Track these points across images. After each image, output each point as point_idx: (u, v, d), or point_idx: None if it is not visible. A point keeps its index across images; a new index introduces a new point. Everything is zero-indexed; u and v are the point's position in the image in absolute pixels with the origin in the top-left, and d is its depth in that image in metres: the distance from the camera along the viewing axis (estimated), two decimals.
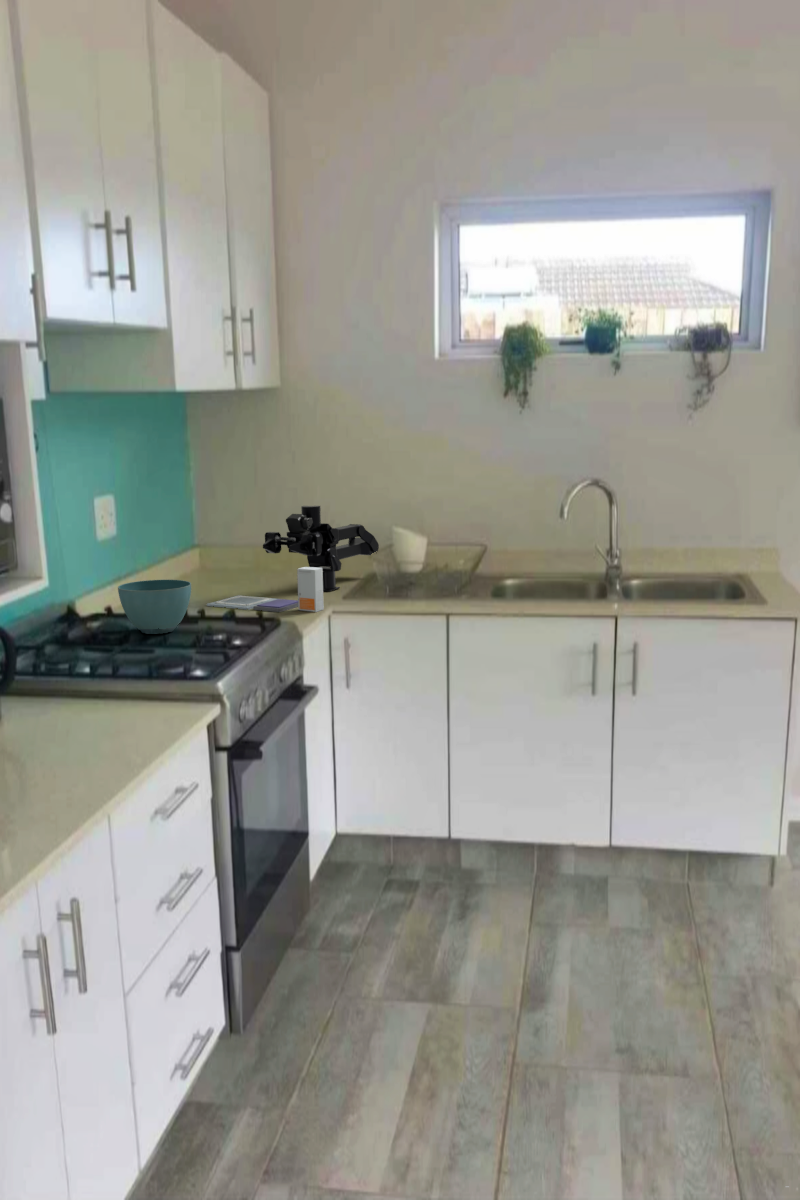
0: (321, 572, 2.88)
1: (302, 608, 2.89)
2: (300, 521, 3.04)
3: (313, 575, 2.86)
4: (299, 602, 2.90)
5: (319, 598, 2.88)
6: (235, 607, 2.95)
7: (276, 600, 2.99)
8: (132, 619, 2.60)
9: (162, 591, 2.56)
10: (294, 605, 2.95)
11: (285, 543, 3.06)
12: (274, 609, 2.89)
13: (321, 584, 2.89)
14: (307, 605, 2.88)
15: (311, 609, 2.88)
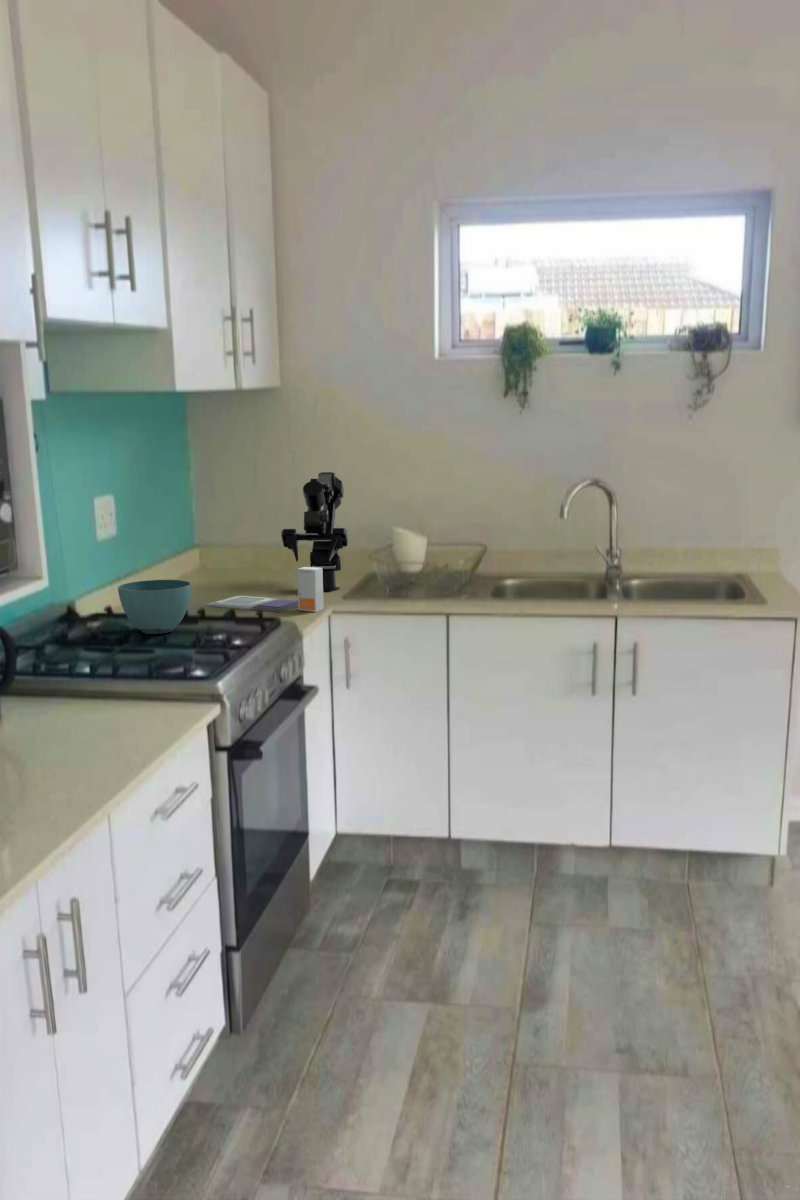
0: (321, 572, 2.88)
1: (302, 608, 2.89)
2: (320, 520, 2.95)
3: (313, 575, 2.86)
4: (299, 602, 2.90)
5: (319, 598, 2.88)
6: (235, 607, 2.95)
7: (276, 600, 2.99)
8: (132, 619, 2.60)
9: (162, 591, 2.56)
10: (294, 605, 2.95)
11: (307, 539, 3.00)
12: (274, 609, 2.89)
13: (321, 584, 2.89)
14: (307, 605, 2.88)
15: (311, 609, 2.88)
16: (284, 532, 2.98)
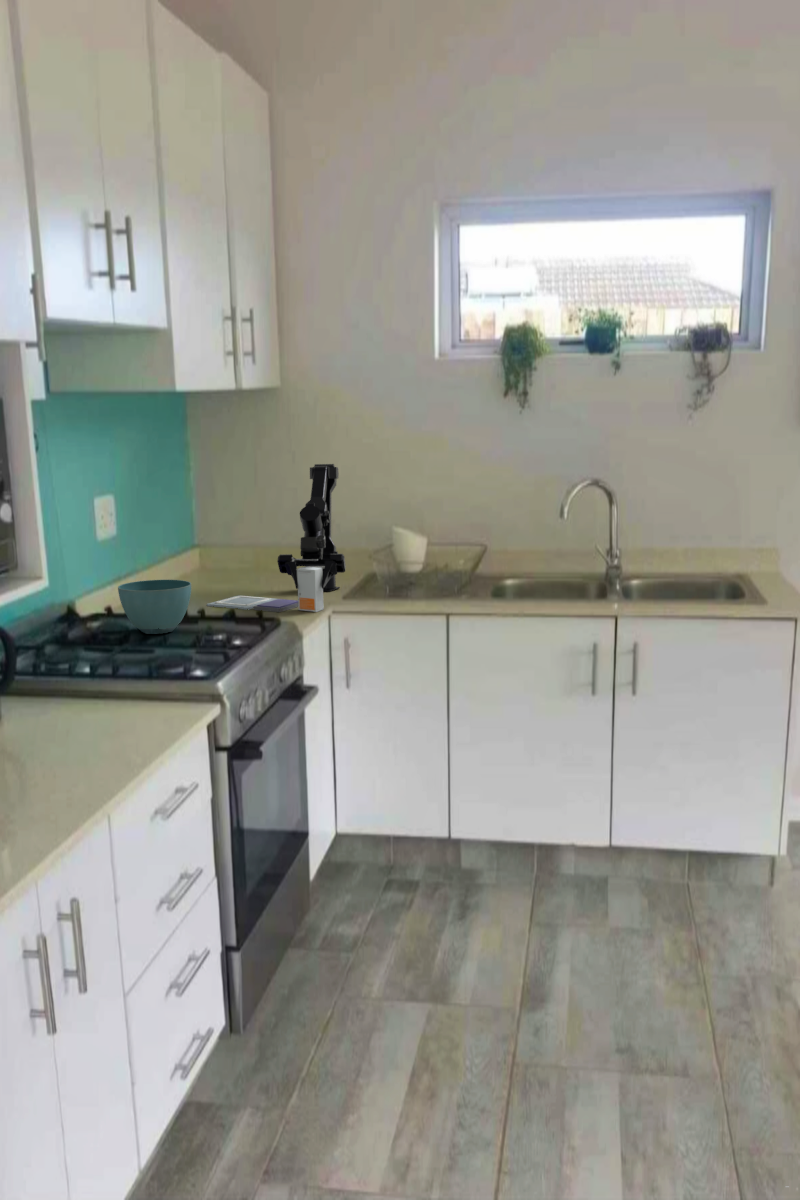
0: (321, 572, 2.88)
1: (302, 608, 2.89)
2: (317, 546, 2.88)
3: (313, 575, 2.86)
4: (299, 602, 2.90)
5: (319, 598, 2.88)
6: (235, 607, 2.95)
7: (276, 600, 2.99)
8: (132, 619, 2.60)
9: (162, 591, 2.56)
10: (294, 605, 2.95)
11: (303, 565, 2.93)
12: (274, 609, 2.89)
13: (321, 584, 2.89)
14: (307, 605, 2.88)
15: (311, 609, 2.88)
16: (280, 558, 2.90)
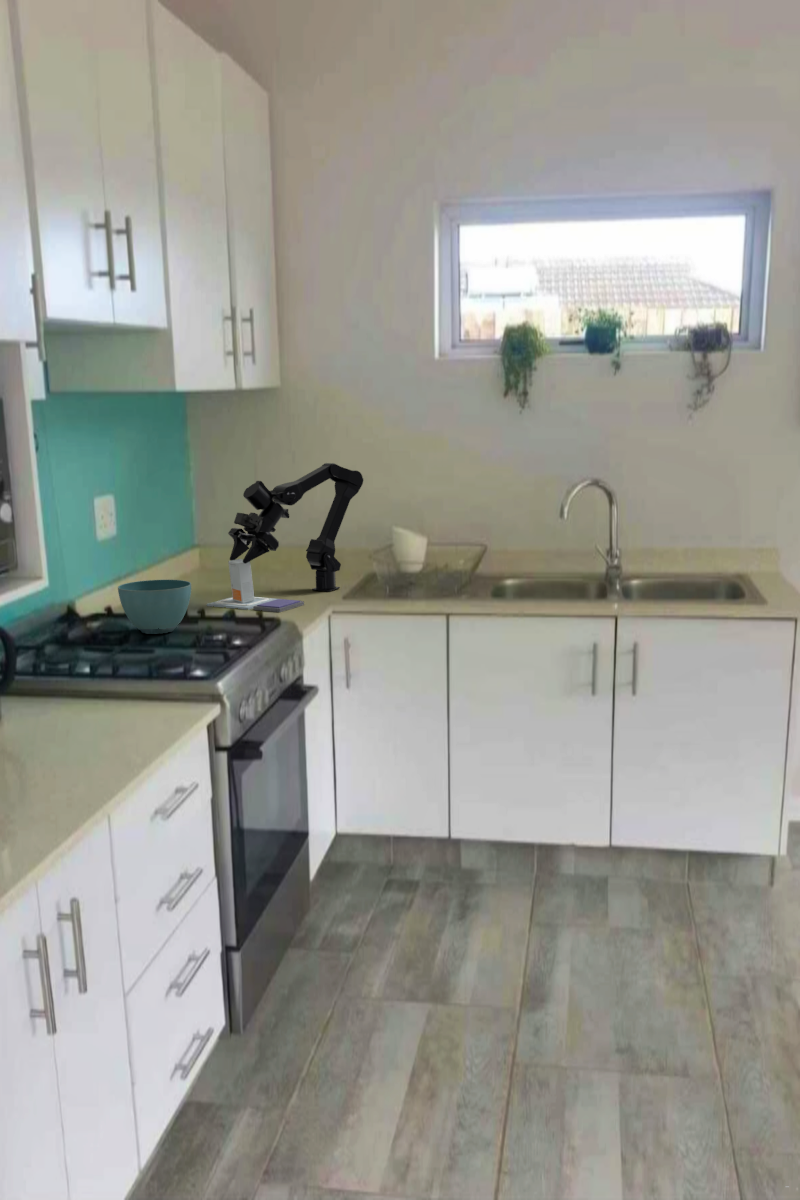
0: (248, 565, 2.99)
1: (234, 598, 3.03)
2: (245, 523, 2.97)
3: (237, 568, 2.98)
4: (232, 593, 3.03)
5: (246, 590, 3.00)
6: (235, 607, 2.95)
7: (276, 600, 2.99)
8: (132, 619, 2.60)
9: (162, 591, 2.56)
10: (294, 605, 2.95)
11: (247, 540, 3.04)
12: (274, 609, 2.89)
13: (248, 576, 3.00)
14: (237, 596, 3.01)
15: (239, 600, 3.01)
16: (230, 531, 3.07)
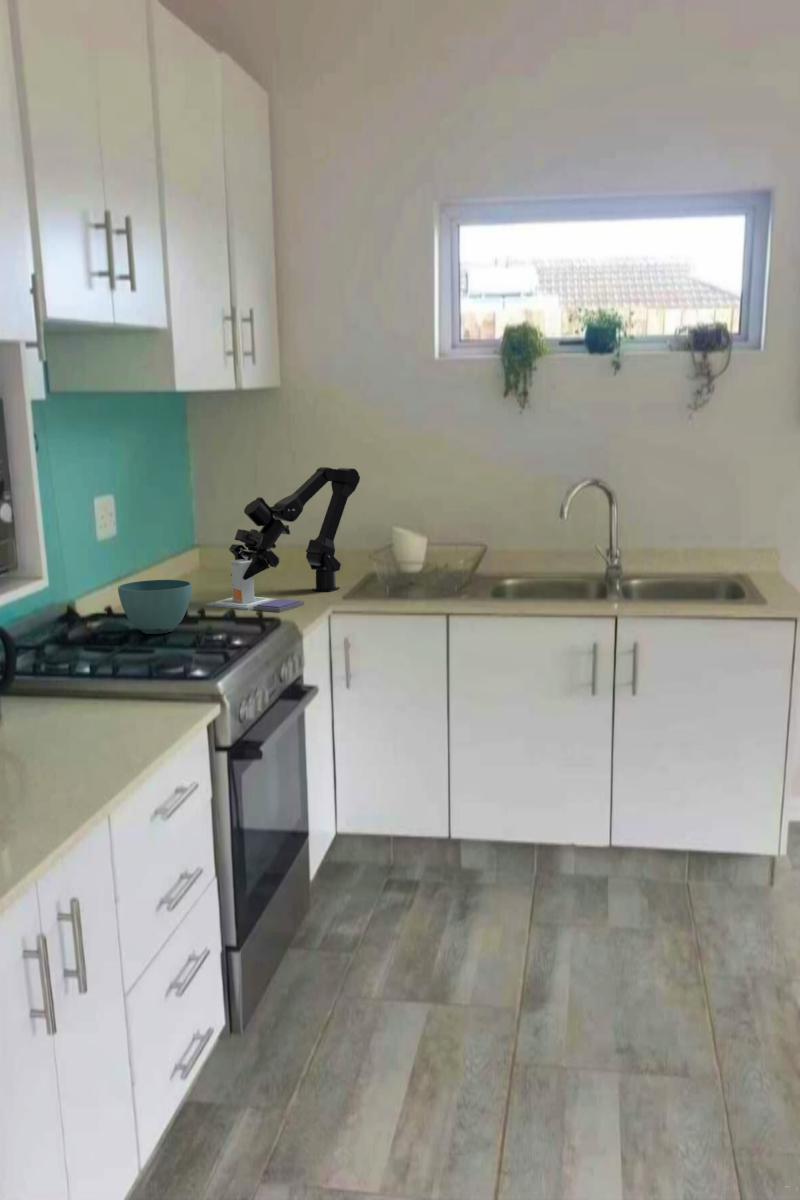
0: None
1: (234, 598, 3.03)
2: (246, 539, 2.98)
3: (240, 568, 2.98)
4: (232, 593, 3.03)
5: (247, 590, 3.00)
6: (235, 607, 2.95)
7: (276, 600, 2.99)
8: (132, 619, 2.60)
9: (162, 591, 2.56)
10: (294, 605, 2.95)
11: (248, 556, 3.05)
12: (274, 609, 2.89)
13: None
14: (237, 596, 3.01)
15: (240, 600, 3.01)
16: (230, 547, 3.08)
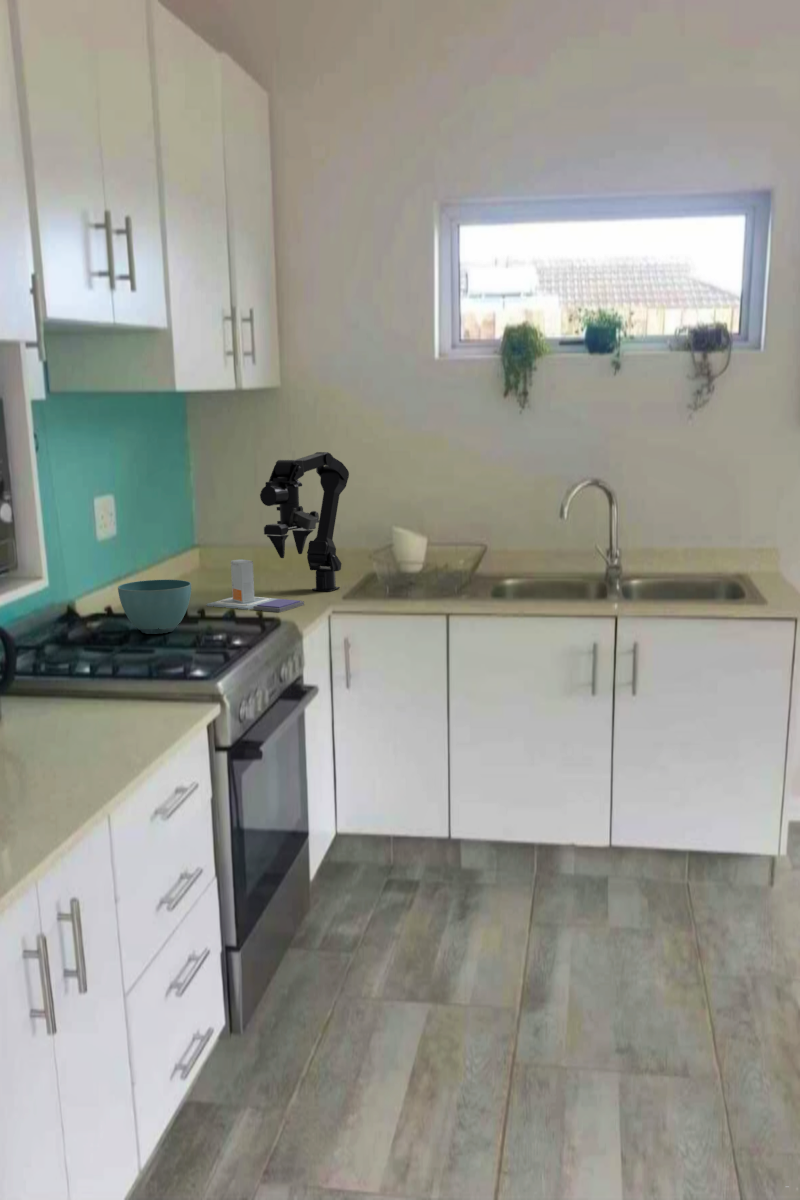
0: (251, 565, 3.00)
1: (234, 598, 3.03)
2: None
3: (240, 568, 2.98)
4: (232, 593, 3.03)
5: (247, 590, 3.00)
6: (235, 607, 2.95)
7: (276, 600, 2.99)
8: (132, 619, 2.60)
9: (162, 591, 2.56)
10: (294, 605, 2.95)
11: None
12: (274, 609, 2.89)
13: (250, 576, 3.00)
14: (237, 596, 3.01)
15: (240, 600, 3.01)
16: (282, 532, 2.95)
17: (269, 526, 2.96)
